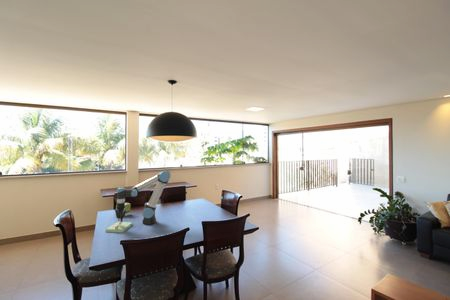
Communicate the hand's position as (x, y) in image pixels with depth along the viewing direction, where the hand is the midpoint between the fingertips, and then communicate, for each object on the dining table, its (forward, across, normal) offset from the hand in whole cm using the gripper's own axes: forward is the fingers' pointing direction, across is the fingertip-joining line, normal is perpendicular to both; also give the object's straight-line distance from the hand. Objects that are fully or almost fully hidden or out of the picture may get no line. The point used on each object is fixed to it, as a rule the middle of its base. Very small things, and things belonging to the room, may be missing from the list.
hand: (120, 224), depth 222 cm
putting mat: (+4, 0, 0) cm, 4 cm away
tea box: (+4, +22, -46) cm, 51 cm away
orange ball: (-1, -1, +9) cm, 9 cm away
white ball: (+2, +4, 0) cm, 5 cm away
